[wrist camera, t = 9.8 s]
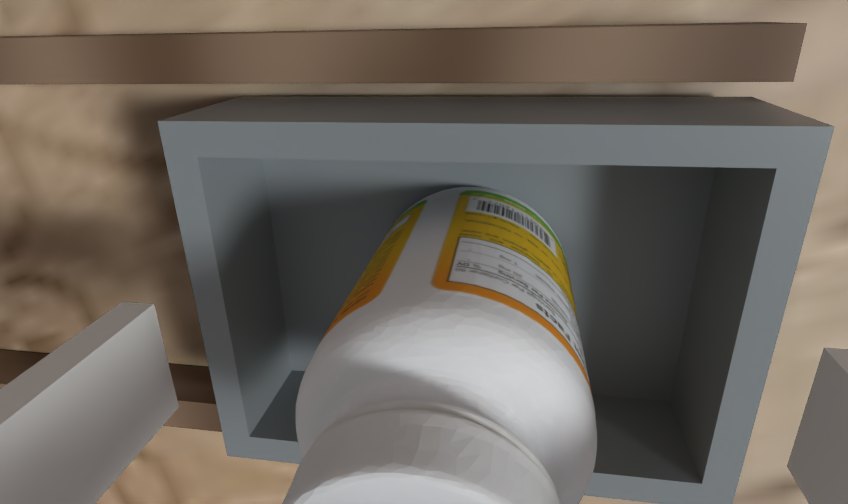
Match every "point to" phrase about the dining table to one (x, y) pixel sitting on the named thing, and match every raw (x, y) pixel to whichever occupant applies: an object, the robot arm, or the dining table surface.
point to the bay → (394, 81)
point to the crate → (558, 205)
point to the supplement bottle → (452, 368)
